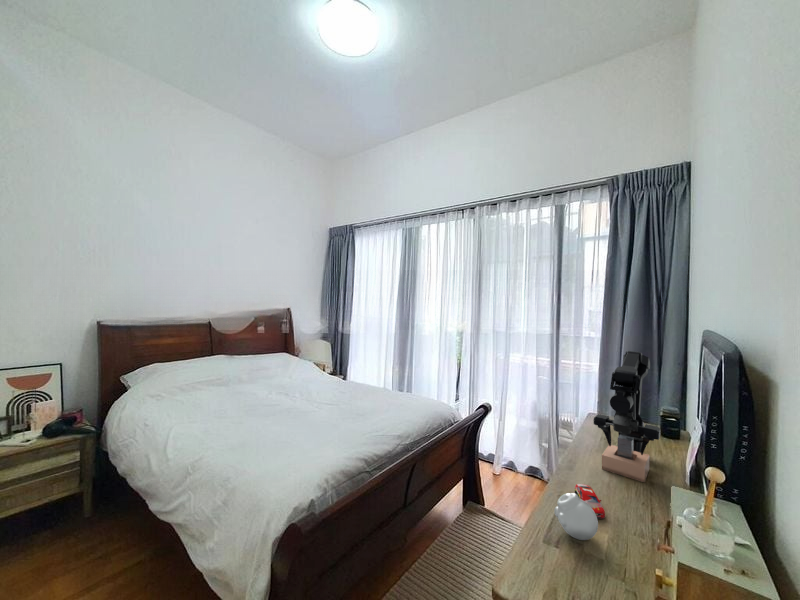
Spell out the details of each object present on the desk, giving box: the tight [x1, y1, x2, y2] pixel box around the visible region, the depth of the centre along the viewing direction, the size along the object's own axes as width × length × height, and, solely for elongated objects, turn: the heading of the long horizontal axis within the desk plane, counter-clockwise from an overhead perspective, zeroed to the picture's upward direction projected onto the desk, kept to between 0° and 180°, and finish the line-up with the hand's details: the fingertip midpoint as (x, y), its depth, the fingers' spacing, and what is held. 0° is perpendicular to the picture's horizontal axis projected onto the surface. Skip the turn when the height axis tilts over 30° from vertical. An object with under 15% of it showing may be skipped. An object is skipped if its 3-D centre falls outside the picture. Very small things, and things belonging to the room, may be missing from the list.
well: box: [601, 444, 650, 484], centre depth 111 cm, size 12×12×5 cm
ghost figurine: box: [553, 492, 599, 541], centre depth 79 cm, size 9×10×10 cm
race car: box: [574, 483, 606, 520], centre depth 91 cm, size 13×5×4 cm, turn 163°
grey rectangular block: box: [617, 434, 634, 461], centre depth 111 cm, size 4×4×10 cm
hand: (625, 450), depth 111 cm, fingers open, 9 cm apart
